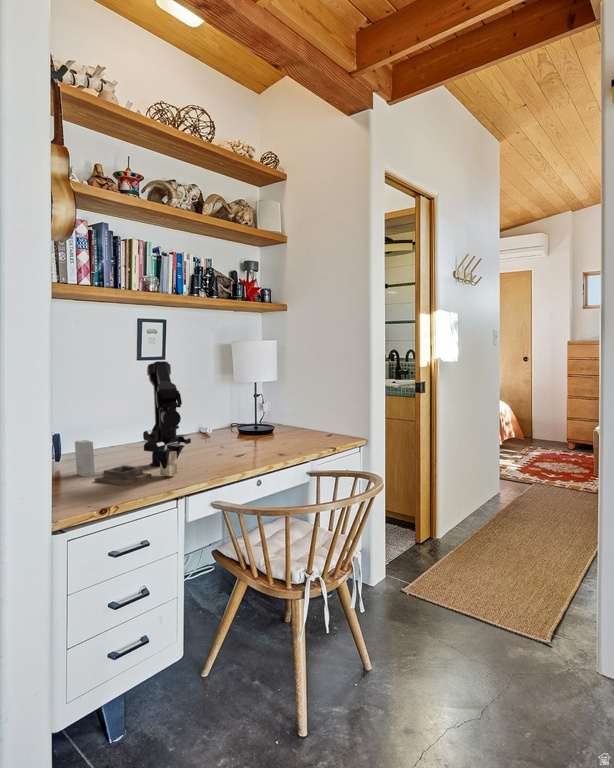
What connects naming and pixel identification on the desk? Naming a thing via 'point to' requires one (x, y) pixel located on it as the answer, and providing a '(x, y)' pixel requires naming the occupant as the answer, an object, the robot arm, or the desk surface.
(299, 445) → the desk surface
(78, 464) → the skincare box
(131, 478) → the socket holder
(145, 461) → the desk surface
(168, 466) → the maple peg
